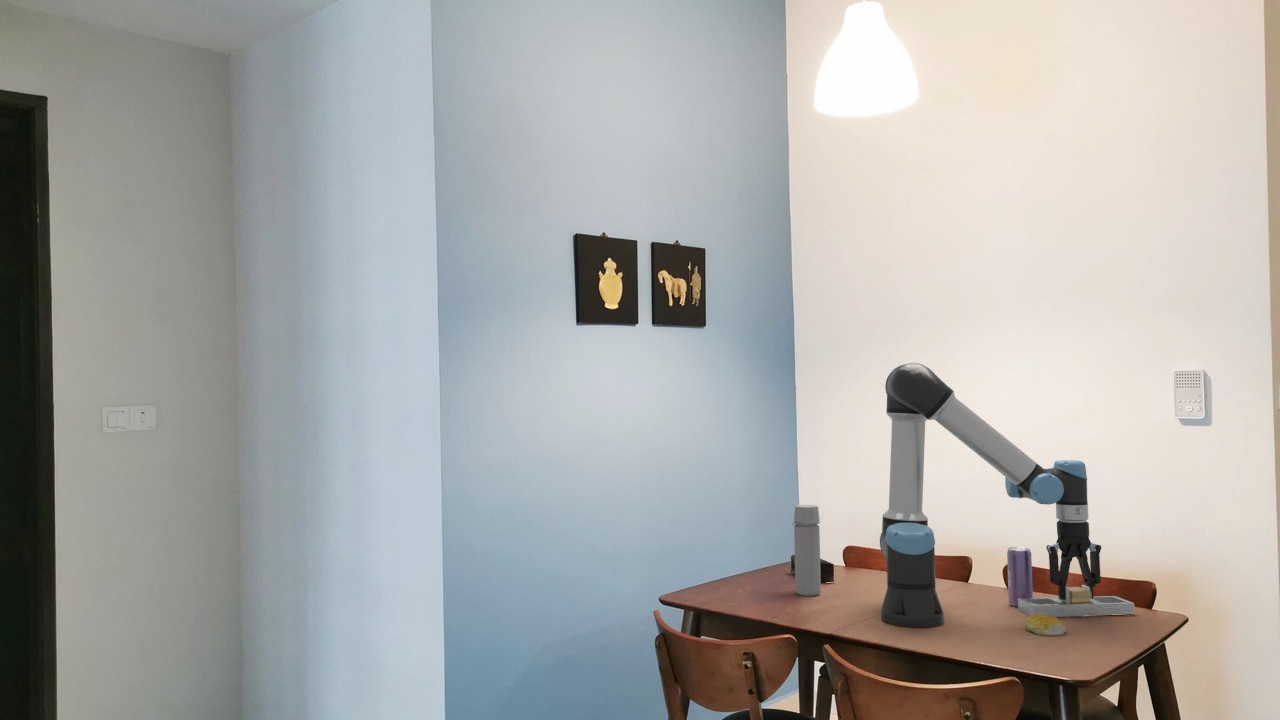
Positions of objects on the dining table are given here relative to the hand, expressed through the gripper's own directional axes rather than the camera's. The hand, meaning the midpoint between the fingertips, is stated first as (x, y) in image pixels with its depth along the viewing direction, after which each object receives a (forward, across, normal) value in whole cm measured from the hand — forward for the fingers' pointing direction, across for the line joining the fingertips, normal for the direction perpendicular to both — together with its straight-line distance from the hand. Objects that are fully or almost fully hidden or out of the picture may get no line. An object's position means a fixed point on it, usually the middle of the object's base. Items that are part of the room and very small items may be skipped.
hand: (1076, 611), depth 233 cm
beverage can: (0, -10, +9) cm, 14 cm away
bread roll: (+1, -17, -17) cm, 24 cm away
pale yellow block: (0, 0, 0) cm, 0 cm away
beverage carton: (0, -56, +52) cm, 77 cm away
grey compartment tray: (0, 0, 0) cm, 0 cm away
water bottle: (0, -63, +30) cm, 70 cm away
